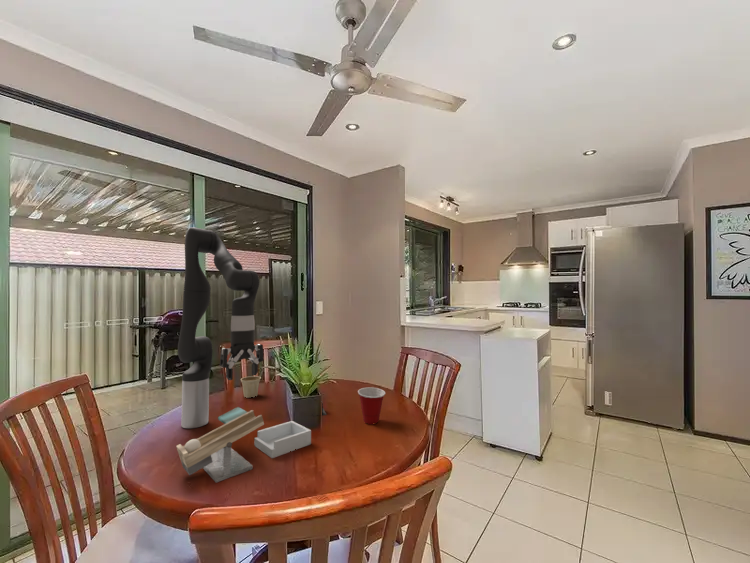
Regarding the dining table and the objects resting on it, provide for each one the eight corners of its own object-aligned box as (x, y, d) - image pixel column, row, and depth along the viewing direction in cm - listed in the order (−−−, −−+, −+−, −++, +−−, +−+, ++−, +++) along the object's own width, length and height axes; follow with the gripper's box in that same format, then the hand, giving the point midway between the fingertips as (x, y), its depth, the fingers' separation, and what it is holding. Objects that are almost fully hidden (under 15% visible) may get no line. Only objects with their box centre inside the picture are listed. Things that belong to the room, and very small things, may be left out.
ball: (184, 455, 93) (181, 441, 93) (199, 447, 96) (196, 434, 95) (188, 460, 90) (185, 446, 90) (204, 452, 93) (201, 438, 93)
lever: (170, 452, 103) (165, 433, 102) (240, 415, 118) (236, 398, 117) (190, 476, 89) (184, 455, 88) (266, 431, 104) (262, 412, 103)
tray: (254, 445, 111) (254, 431, 111) (292, 433, 121) (292, 420, 121) (271, 458, 103) (272, 443, 103) (311, 444, 112) (311, 430, 113)
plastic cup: (370, 429, 124) (370, 396, 125) (352, 421, 132) (352, 390, 133) (391, 422, 132) (391, 391, 132) (373, 415, 140) (373, 385, 140)
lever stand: (196, 461, 101) (196, 440, 101) (230, 450, 108) (230, 431, 108) (216, 482, 89) (216, 459, 90) (252, 469, 96) (252, 447, 97)
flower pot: (236, 398, 162) (236, 380, 162) (246, 393, 171) (247, 375, 172) (254, 399, 160) (254, 381, 161) (264, 393, 170) (264, 376, 170)
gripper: (256, 326, 122) (256, 372, 121) (216, 329, 111) (215, 379, 111) (267, 327, 117) (267, 375, 116) (227, 331, 106) (226, 383, 106)
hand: (242, 377), depth 114 cm, fingers open, 8 cm apart
